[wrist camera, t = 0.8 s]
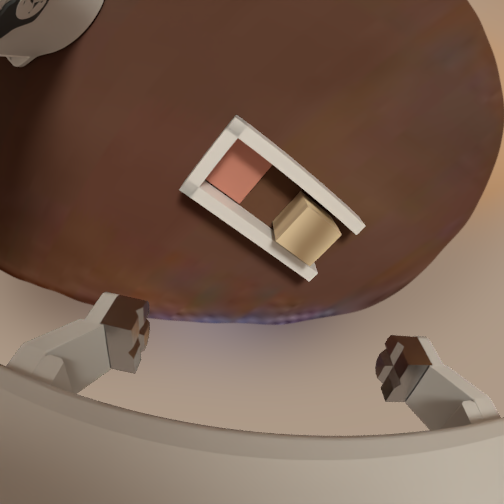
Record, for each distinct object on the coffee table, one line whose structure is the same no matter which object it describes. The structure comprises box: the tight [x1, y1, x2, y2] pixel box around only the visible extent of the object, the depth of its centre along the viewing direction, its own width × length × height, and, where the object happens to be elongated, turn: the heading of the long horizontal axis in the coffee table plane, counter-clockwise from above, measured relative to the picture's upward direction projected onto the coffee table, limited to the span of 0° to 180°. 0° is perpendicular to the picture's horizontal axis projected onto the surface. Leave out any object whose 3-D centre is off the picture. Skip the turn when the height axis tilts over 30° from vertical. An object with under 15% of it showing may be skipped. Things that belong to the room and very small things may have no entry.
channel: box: [180, 115, 365, 281], centre depth 35 cm, size 18×10×3 cm, turn 51°
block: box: [273, 191, 342, 266], centre depth 36 cm, size 5×5×5 cm
